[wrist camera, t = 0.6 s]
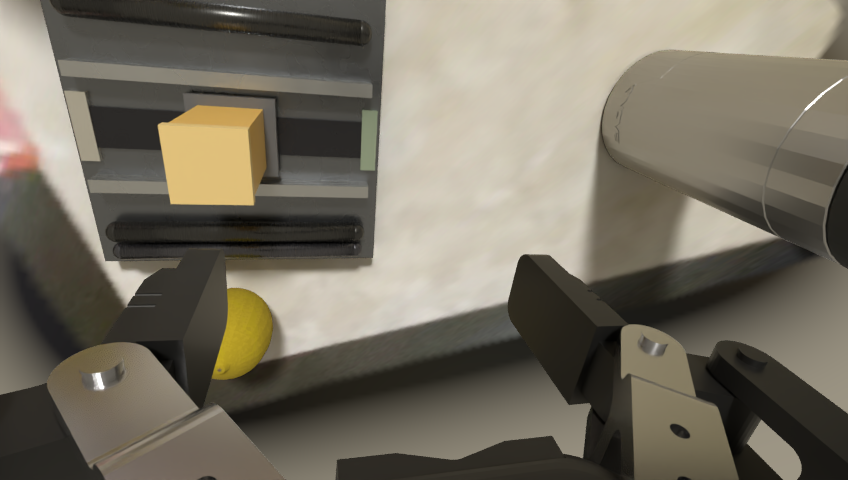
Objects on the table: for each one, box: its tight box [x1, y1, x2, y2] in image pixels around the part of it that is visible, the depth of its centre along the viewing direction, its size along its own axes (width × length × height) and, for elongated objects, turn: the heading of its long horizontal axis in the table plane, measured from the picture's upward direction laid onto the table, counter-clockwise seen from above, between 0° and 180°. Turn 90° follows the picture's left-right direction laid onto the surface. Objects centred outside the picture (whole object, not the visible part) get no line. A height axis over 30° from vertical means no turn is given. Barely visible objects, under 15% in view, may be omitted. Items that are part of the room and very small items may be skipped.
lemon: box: [212, 288, 273, 380], centre depth 30 cm, size 6×6×8 cm
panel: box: [40, 0, 386, 261], centre depth 27 cm, size 18×18×3 cm
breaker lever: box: [158, 92, 280, 205], centre depth 24 cm, size 5×5×7 cm
